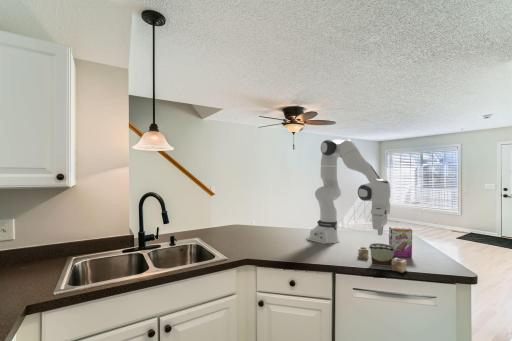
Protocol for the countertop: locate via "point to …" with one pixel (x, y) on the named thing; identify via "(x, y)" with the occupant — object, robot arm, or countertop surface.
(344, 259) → the countertop surface
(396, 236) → the candy bar box
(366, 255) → the labelled block
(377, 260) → the food container
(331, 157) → the robot arm
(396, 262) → the labelled block
